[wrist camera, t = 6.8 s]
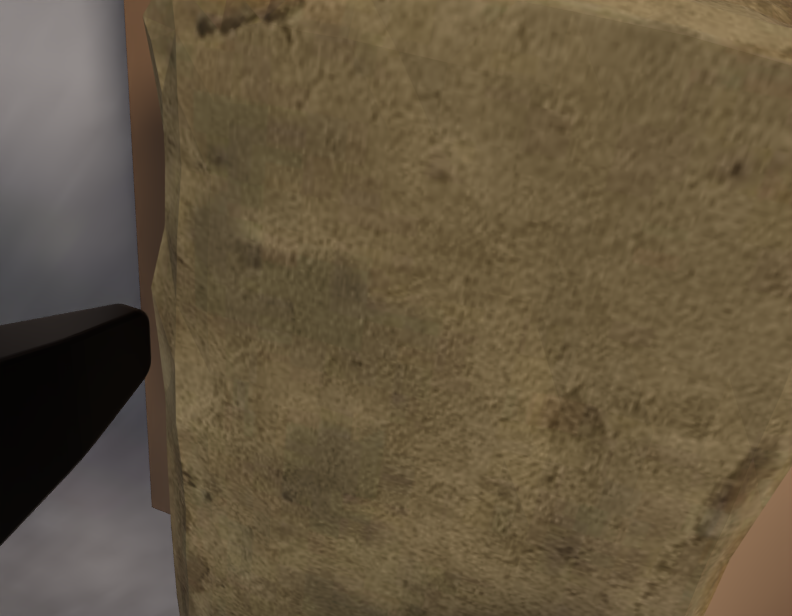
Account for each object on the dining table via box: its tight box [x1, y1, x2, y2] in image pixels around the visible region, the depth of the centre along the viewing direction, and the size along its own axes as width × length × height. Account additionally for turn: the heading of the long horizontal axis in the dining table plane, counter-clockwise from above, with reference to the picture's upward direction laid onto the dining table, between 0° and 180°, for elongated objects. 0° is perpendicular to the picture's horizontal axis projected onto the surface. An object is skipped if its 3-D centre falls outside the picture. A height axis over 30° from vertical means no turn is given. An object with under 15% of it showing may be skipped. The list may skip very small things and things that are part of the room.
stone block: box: [143, 0, 792, 616], centre depth 9 cm, size 6×12×5 cm, turn 174°
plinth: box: [124, 0, 792, 616], centre depth 12 cm, size 13×13×4 cm
